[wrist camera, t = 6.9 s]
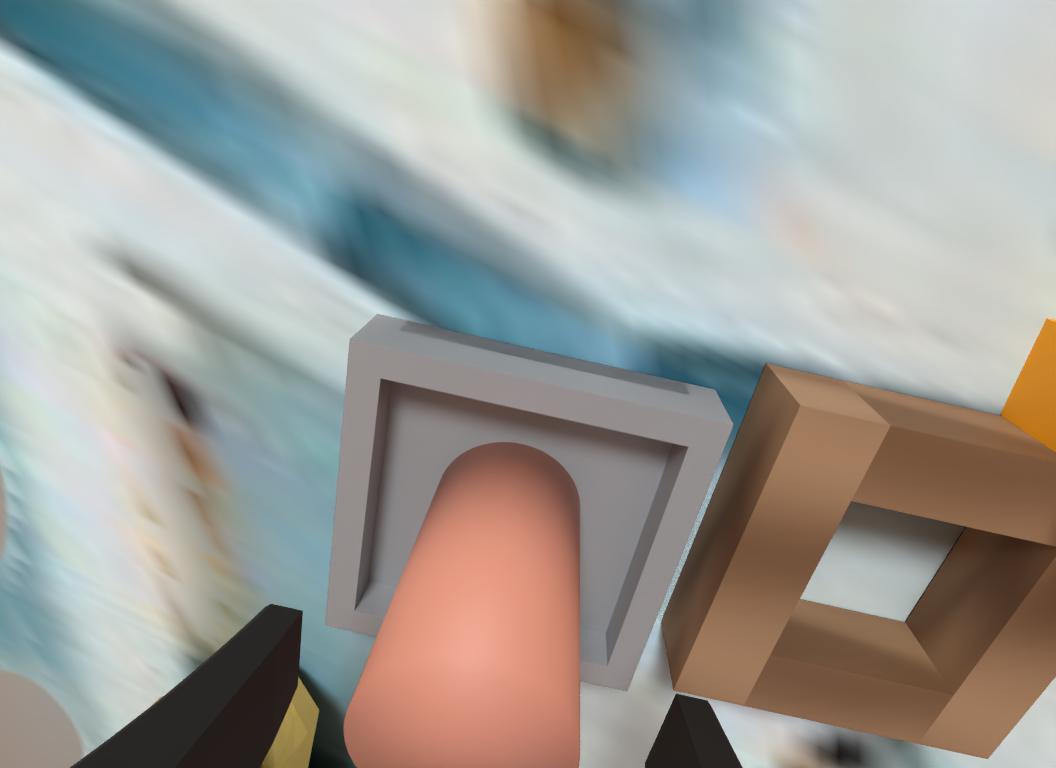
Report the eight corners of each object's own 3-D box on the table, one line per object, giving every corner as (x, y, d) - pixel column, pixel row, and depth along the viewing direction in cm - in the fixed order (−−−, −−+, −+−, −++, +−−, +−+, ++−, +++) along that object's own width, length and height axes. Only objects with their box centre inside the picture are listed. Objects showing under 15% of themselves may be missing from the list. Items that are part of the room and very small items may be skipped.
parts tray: (622, 637, 19) (627, 691, 17) (349, 577, 19) (324, 625, 17) (714, 389, 15) (733, 424, 13) (377, 314, 15) (349, 339, 13)
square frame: (937, 681, 19) (987, 759, 16) (661, 621, 18) (673, 690, 16) (1108, 439, 15) (1204, 495, 13) (766, 363, 15) (800, 405, 13)
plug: (560, 575, 17) (548, 843, 11) (427, 544, 17) (334, 794, 11) (596, 461, 15) (607, 695, 9) (449, 426, 15) (355, 637, 9)
